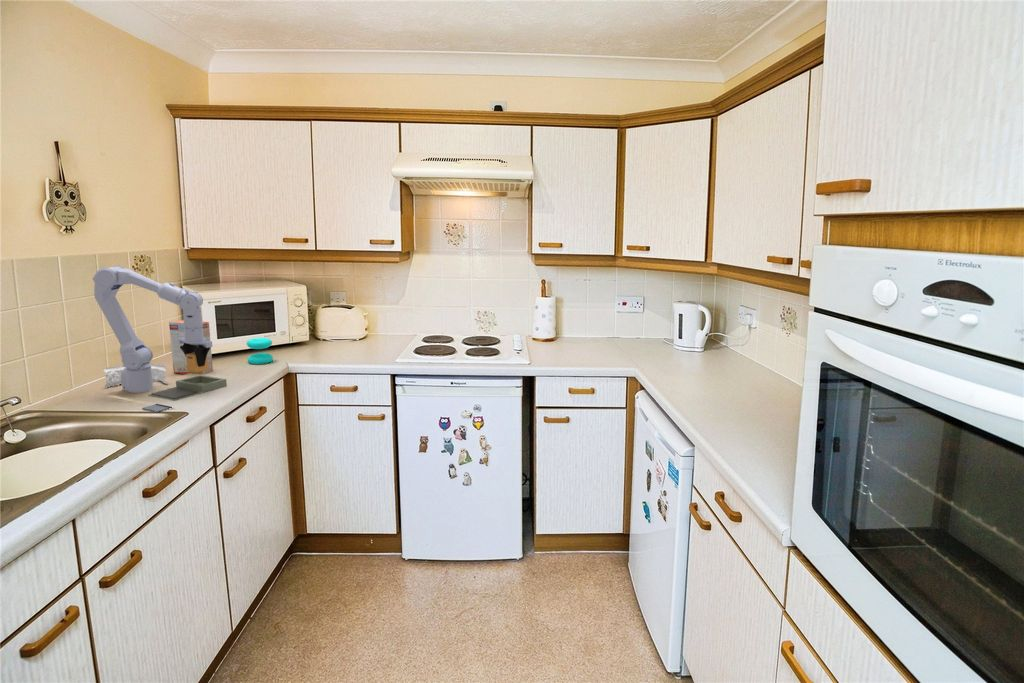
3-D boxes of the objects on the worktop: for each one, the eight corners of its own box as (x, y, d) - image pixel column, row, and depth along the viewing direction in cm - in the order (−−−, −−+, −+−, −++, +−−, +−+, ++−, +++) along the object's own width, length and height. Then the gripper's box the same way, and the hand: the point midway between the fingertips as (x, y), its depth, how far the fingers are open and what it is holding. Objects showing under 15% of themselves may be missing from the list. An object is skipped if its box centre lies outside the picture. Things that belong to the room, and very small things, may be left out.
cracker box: (214, 373, 228) (209, 321, 224) (202, 376, 222) (197, 323, 218) (185, 370, 232) (180, 319, 228) (173, 373, 226) (168, 321, 222)
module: (187, 370, 201) (185, 352, 200) (199, 367, 206) (198, 349, 205) (195, 372, 200) (193, 353, 199) (207, 369, 205) (206, 351, 203)
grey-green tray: (148, 398, 195) (147, 388, 194) (201, 383, 213) (200, 374, 212) (175, 403, 190) (174, 393, 189) (227, 388, 208) (226, 379, 207)
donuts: (252, 342, 239) (242, 339, 245) (253, 366, 241) (244, 362, 247) (275, 339, 246) (265, 336, 252) (277, 362, 248) (267, 358, 254)
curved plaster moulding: (169, 387, 208) (166, 365, 207) (102, 395, 198) (99, 372, 197) (170, 382, 218) (167, 360, 216) (106, 389, 208) (103, 366, 207)
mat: (142, 409, 183) (142, 407, 183) (166, 402, 190) (165, 401, 190) (157, 412, 181) (157, 411, 180) (180, 405, 188) (180, 404, 188)
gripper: (218, 327, 201) (221, 365, 203) (189, 323, 206) (192, 360, 209) (200, 330, 194) (204, 369, 197) (170, 326, 200) (174, 364, 202)
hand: (196, 365), depth 203 cm, fingers closed on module, 4 cm apart
